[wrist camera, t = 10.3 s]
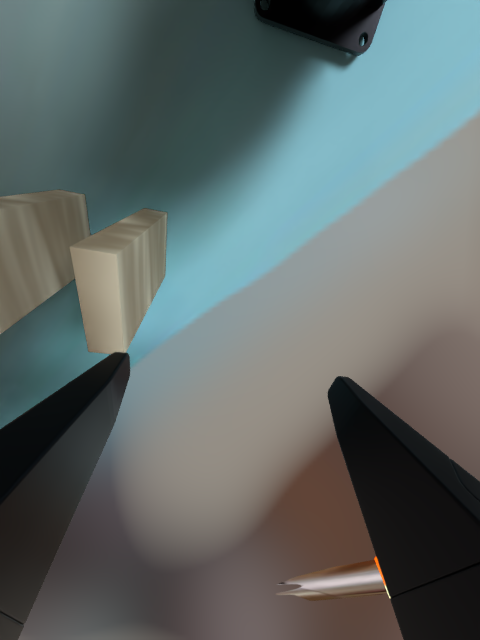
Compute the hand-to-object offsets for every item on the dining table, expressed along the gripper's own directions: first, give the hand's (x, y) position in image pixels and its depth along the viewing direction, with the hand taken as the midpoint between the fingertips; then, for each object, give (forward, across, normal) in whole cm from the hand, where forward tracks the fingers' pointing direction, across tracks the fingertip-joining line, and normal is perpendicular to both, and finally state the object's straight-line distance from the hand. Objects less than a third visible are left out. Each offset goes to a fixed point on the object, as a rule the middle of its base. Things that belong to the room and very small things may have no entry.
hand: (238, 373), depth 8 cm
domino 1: (+13, +11, 0) cm, 17 cm away
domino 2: (+13, +6, 0) cm, 14 cm away
